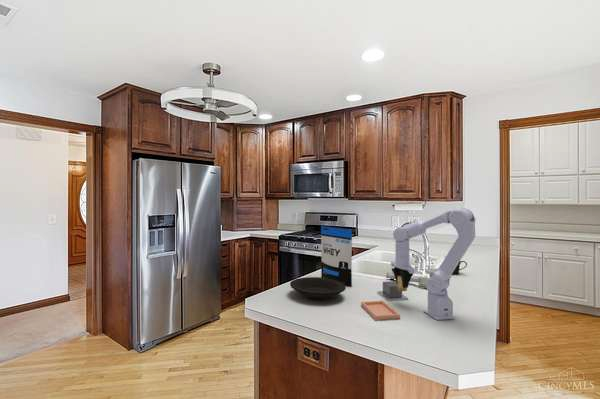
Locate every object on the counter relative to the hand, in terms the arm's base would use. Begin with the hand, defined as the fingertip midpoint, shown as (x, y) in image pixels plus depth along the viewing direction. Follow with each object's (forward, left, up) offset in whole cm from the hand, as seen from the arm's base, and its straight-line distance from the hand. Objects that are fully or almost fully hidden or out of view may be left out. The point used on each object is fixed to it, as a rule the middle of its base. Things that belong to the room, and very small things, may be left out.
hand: (402, 286), depth 135 cm
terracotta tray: (-6, +13, -8) cm, 17 cm away
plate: (+18, +34, -9) cm, 39 cm away
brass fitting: (0, 0, -2) cm, 2 cm away
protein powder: (+40, +19, -9) cm, 45 cm away
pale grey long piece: (+30, -19, -9) cm, 37 cm away
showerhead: (+32, -35, -9) cm, 48 cm away
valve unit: (+12, -1, -8) cm, 15 cm away
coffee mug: (+44, -56, -9) cm, 72 cm away
